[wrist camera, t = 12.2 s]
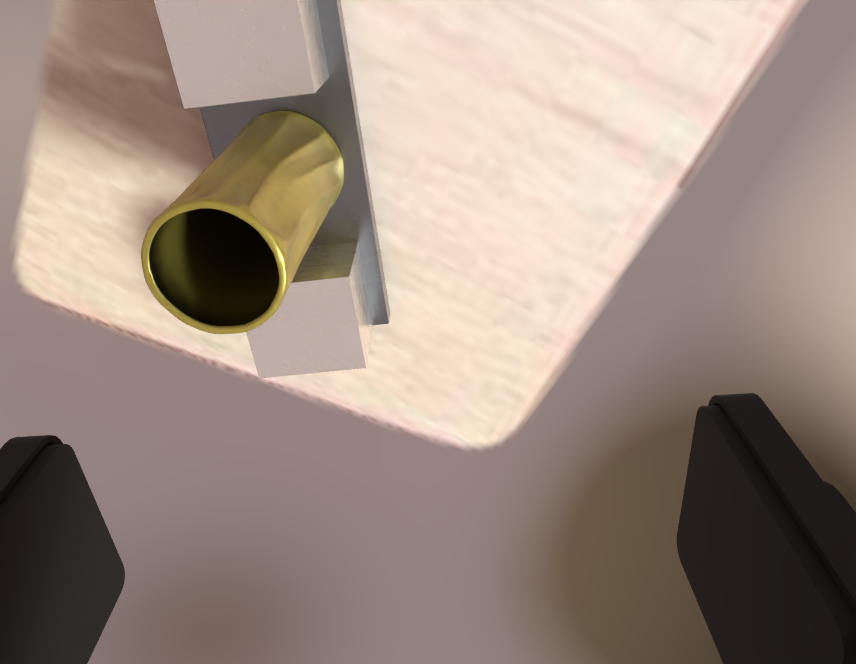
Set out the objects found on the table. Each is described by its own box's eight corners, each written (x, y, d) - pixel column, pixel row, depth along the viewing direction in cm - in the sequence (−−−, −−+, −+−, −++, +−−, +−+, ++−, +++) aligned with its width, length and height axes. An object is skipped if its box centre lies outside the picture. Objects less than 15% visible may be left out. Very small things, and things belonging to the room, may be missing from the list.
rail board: (174, -27, 33) (121, -26, 27) (332, -48, 33) (312, -51, 27) (266, 324, 43) (241, 379, 37) (389, 312, 42) (384, 366, 37)
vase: (315, 240, 38) (260, 371, 26) (215, 188, 37) (104, 299, 24) (363, 147, 36) (328, 241, 23) (258, 87, 34) (159, 153, 22)
